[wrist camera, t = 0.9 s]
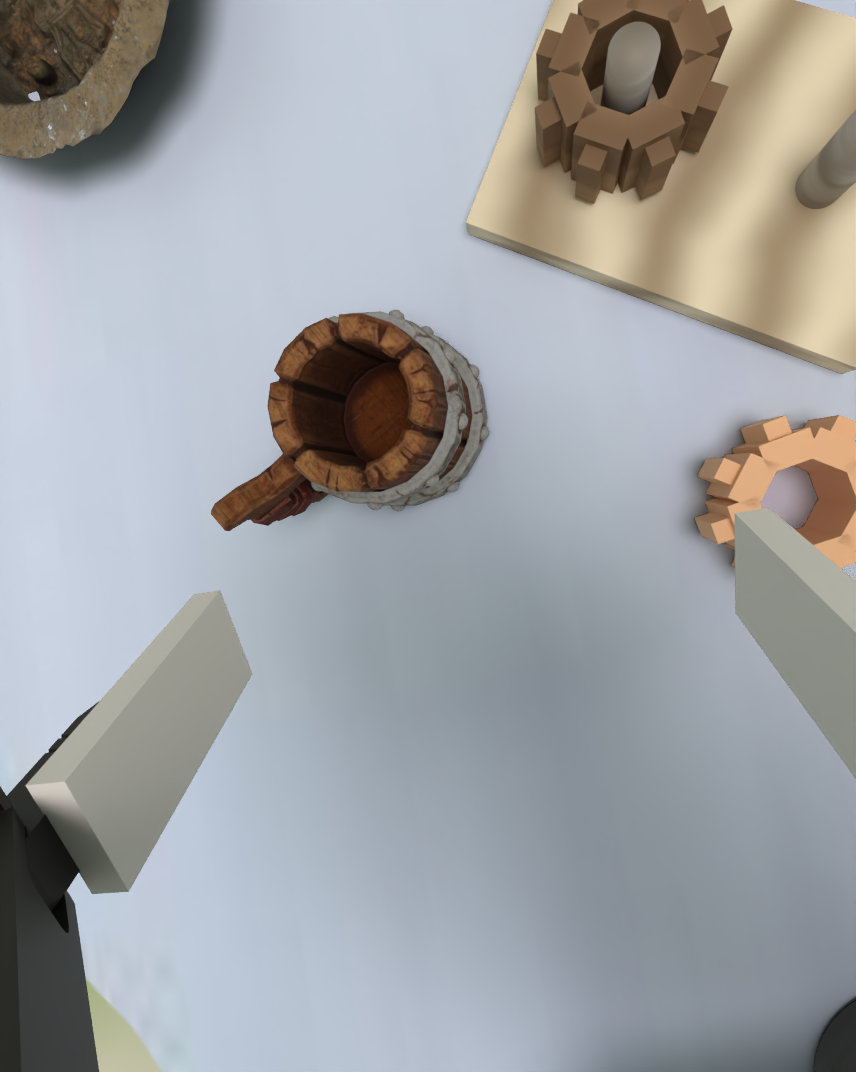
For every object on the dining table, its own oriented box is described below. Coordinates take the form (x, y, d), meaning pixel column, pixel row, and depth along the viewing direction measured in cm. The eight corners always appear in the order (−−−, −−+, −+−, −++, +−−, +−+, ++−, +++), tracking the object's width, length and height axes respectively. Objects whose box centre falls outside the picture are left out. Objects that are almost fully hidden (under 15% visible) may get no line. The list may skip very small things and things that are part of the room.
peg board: (993, 90, 33) (1131, -27, 25) (841, 373, 36) (922, 348, 28) (576, -35, 36) (583, -173, 28) (469, 234, 39) (449, 177, 31)
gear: (895, 456, 36) (949, 455, 31) (813, 601, 37) (852, 621, 32) (736, 394, 37) (764, 383, 32) (664, 537, 39) (680, 547, 34)
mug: (540, 420, 39) (484, 437, 25) (391, 550, 45) (279, 622, 31) (425, 284, 40) (309, 228, 26) (292, 429, 45) (138, 447, 31)
